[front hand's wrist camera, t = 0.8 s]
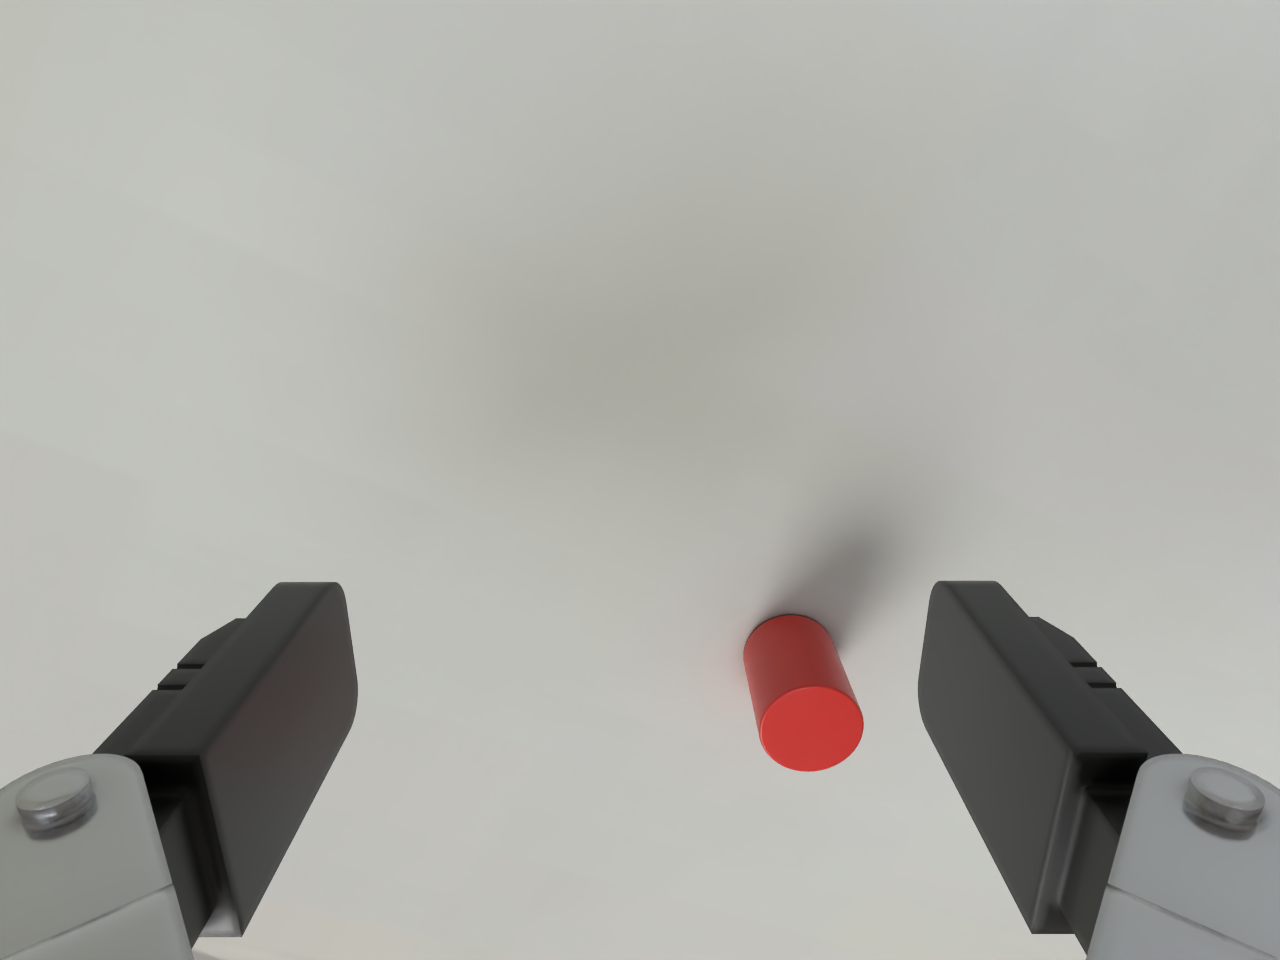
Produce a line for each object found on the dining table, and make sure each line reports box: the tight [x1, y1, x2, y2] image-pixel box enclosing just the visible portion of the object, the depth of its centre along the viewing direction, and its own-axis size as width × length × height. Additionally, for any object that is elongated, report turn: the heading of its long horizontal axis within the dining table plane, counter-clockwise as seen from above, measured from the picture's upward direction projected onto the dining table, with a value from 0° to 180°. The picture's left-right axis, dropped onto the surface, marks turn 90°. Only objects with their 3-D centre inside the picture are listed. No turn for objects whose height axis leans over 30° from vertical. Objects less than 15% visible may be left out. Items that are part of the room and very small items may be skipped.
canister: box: [743, 615, 864, 772], centre depth 30 cm, size 4×4×5 cm
